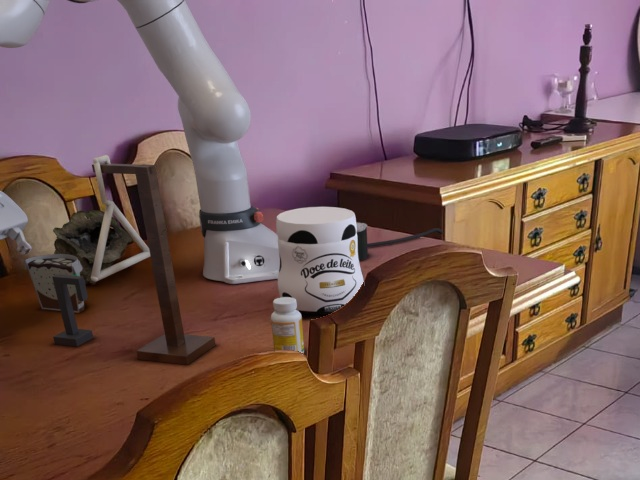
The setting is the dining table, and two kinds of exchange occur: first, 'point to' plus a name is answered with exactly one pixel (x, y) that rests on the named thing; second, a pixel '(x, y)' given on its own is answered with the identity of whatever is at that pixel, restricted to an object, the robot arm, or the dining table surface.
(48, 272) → the food container
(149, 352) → the hanger stand
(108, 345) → the dining table surface
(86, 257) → the hollow geode rock
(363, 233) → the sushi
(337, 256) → the milk container
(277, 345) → the supplement bottle
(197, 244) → the dining table surface
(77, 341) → the black hanger
